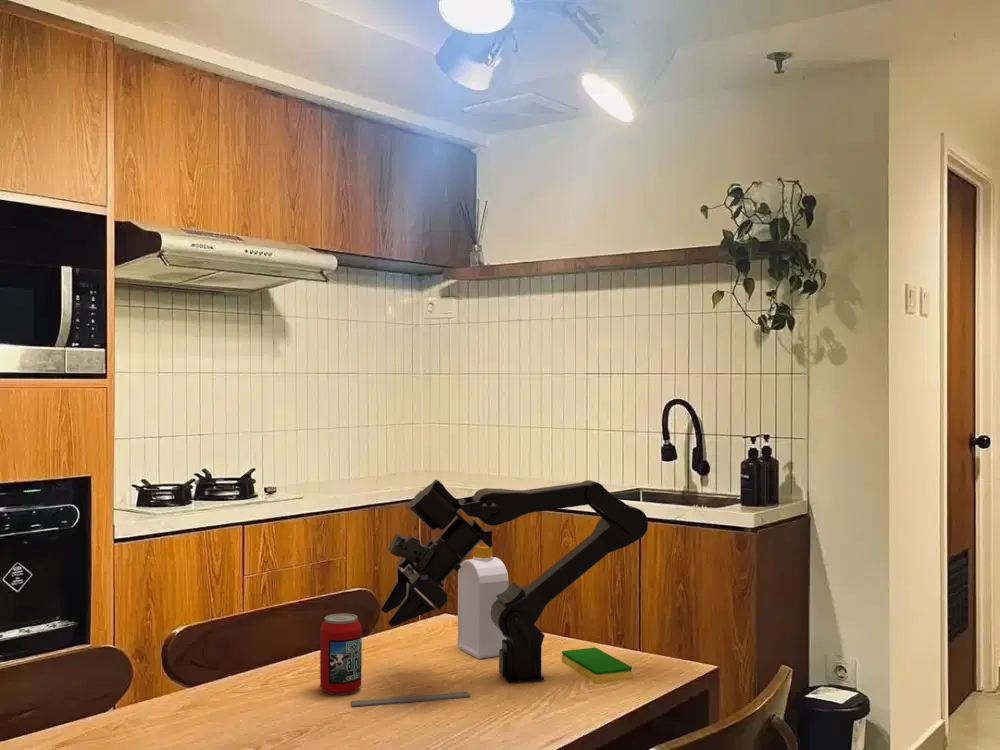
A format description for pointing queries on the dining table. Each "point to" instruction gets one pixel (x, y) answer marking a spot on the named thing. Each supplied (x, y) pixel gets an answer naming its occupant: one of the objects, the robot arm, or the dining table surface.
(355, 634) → the beverage can
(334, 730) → the dining table surface
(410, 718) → the dining table surface
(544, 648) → the dining table surface
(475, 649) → the soap bottle
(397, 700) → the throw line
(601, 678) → the dish sponge
